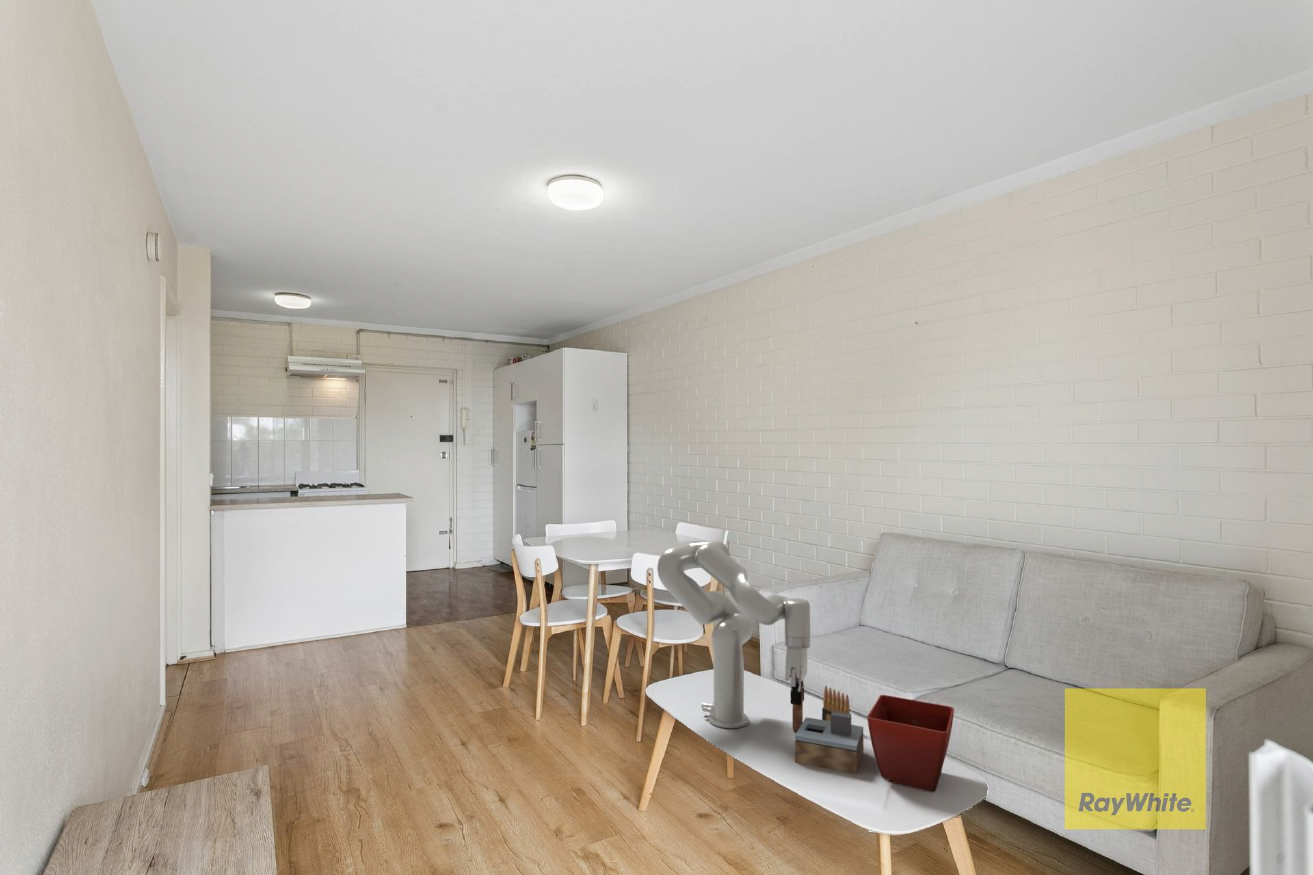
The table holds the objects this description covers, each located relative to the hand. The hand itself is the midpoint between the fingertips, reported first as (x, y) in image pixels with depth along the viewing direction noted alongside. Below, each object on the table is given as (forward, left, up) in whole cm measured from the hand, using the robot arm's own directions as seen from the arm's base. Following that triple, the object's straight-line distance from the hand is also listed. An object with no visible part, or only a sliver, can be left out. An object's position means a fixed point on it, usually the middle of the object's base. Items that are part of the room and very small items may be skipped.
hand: (797, 701), depth 200 cm
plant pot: (+33, -14, -10) cm, 37 cm away
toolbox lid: (+12, -14, -3) cm, 19 cm away
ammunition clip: (+10, +9, -10) cm, 17 cm away
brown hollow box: (+12, -14, -10) cm, 21 cm away
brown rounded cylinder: (0, 0, -8) cm, 8 cm away
